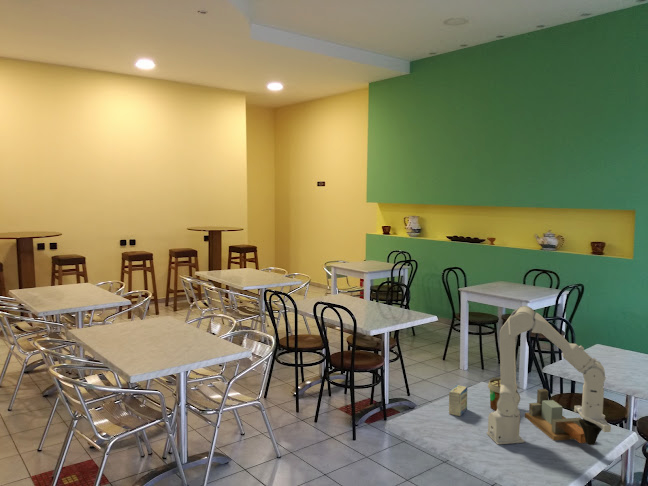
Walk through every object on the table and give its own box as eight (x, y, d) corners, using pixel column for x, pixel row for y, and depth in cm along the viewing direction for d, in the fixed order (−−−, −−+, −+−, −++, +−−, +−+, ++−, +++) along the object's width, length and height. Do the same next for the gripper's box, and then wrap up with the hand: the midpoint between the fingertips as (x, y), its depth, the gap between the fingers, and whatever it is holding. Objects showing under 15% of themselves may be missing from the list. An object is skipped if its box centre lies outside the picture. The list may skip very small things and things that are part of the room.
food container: (493, 399, 202) (493, 374, 201) (509, 403, 199) (509, 377, 198) (482, 410, 192) (483, 384, 191) (499, 414, 189) (500, 387, 188)
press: (553, 440, 169) (555, 411, 168) (524, 416, 186) (525, 390, 185) (587, 438, 170) (589, 408, 169) (555, 414, 188) (556, 388, 187)
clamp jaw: (570, 445, 162) (570, 433, 161) (551, 431, 171) (552, 419, 171) (599, 443, 163) (599, 431, 163) (579, 428, 173) (579, 417, 172)
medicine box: (460, 417, 187) (460, 393, 186) (448, 414, 189) (448, 391, 188) (467, 409, 193) (467, 386, 192) (455, 406, 196) (456, 384, 195)
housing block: (551, 424, 177) (551, 407, 176) (541, 416, 183) (542, 400, 182) (561, 423, 177) (562, 406, 177) (551, 416, 183) (552, 399, 183)
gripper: (621, 410, 152) (618, 454, 153) (589, 391, 166) (587, 432, 167) (599, 412, 151) (596, 456, 152) (568, 392, 165) (567, 433, 166)
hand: (590, 443), depth 160 cm, fingers closed
